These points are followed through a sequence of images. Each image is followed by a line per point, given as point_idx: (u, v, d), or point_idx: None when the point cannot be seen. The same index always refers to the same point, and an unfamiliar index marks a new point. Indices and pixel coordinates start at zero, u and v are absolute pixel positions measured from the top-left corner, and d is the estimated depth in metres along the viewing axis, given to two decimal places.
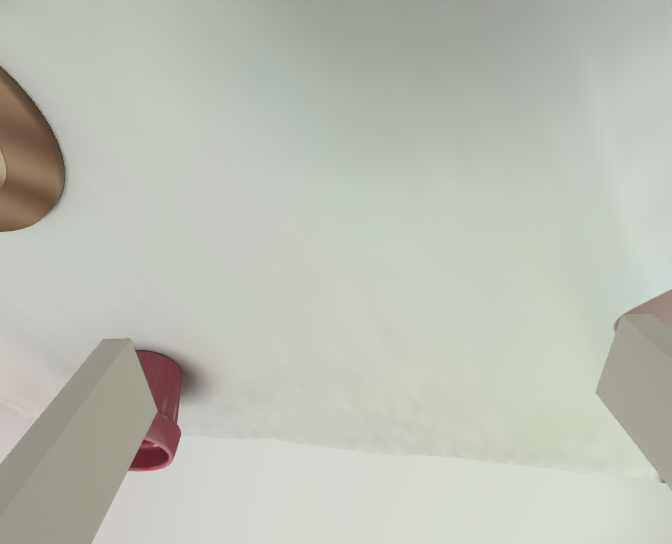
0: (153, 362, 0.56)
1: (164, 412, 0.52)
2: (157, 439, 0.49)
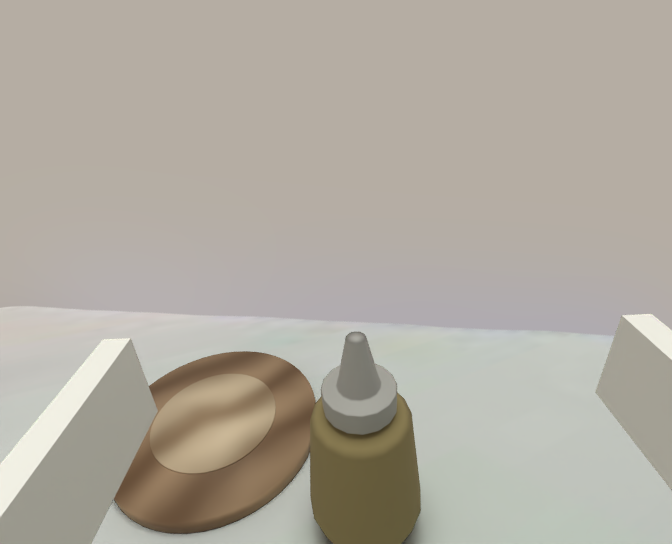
0: None
1: None
2: None
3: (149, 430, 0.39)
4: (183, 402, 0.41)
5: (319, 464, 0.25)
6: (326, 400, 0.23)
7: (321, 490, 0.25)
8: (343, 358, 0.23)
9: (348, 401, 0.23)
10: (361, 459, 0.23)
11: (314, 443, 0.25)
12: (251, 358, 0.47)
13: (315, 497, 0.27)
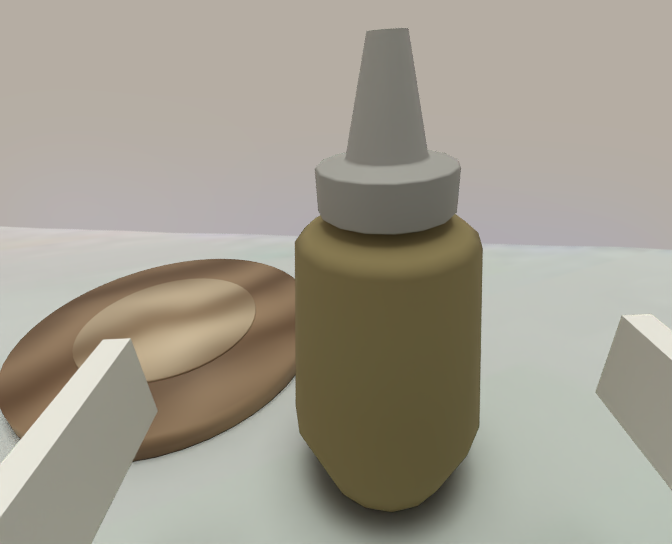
0: None
1: None
2: None
3: (77, 334, 0.27)
4: (130, 305, 0.30)
5: (308, 315, 0.13)
6: (325, 173, 0.12)
7: (311, 369, 0.14)
8: (360, 80, 0.12)
9: (368, 170, 0.12)
10: (391, 280, 0.11)
11: (300, 273, 0.13)
12: (230, 265, 0.36)
13: (302, 391, 0.15)
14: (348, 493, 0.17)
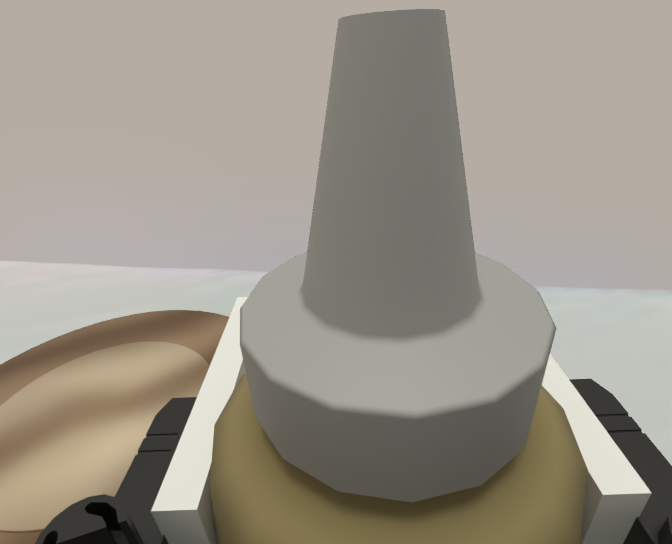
0: None
1: None
2: None
3: None
4: (54, 386, 0.23)
5: None
6: (251, 342, 0.05)
7: None
8: (327, 138, 0.05)
9: (348, 346, 0.05)
10: None
11: (215, 514, 0.07)
12: (191, 320, 0.29)
13: None
14: None
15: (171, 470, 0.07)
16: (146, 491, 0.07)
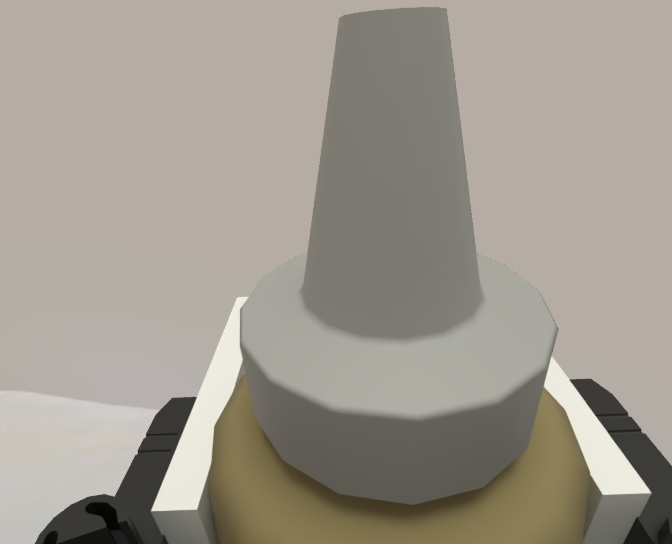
0: None
1: None
2: None
3: None
4: None
5: None
6: (250, 343, 0.05)
7: None
8: (328, 137, 0.05)
9: (348, 347, 0.05)
10: None
11: (215, 516, 0.06)
12: None
13: None
14: None
15: (171, 470, 0.07)
16: (146, 491, 0.07)
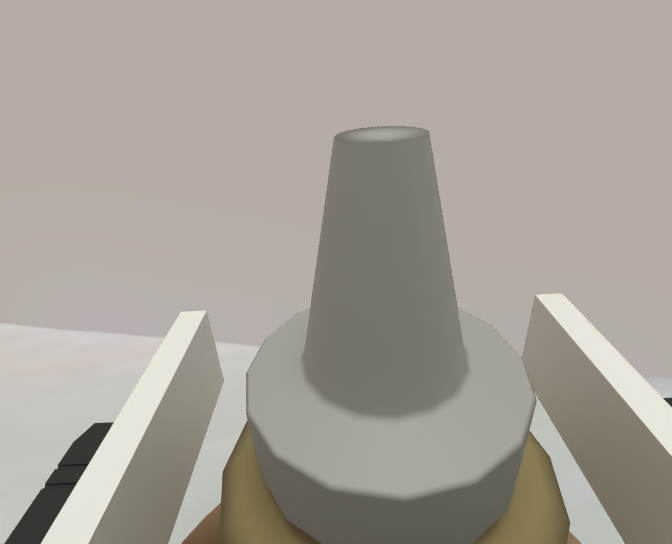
0: None
1: None
2: None
3: None
4: None
5: None
6: (256, 414, 0.06)
7: None
8: (325, 236, 0.05)
9: (344, 423, 0.05)
10: None
11: None
12: None
13: None
14: None
15: (64, 511, 0.06)
16: (43, 531, 0.07)
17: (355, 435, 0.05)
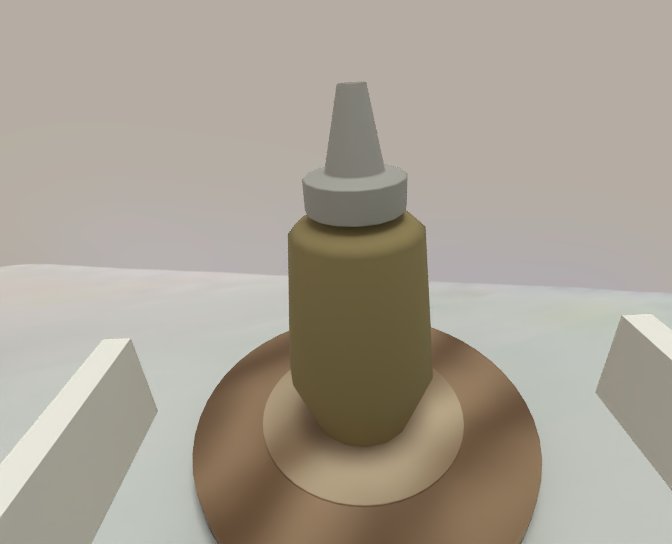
0: None
1: None
2: None
3: (259, 428, 0.24)
4: None
5: (298, 288, 0.18)
6: (309, 183, 0.17)
7: (301, 330, 0.19)
8: (333, 117, 0.16)
9: (339, 181, 0.16)
10: (355, 259, 0.16)
11: (292, 256, 0.18)
12: None
13: (294, 349, 0.20)
14: (331, 432, 0.22)
15: None
16: None
17: (343, 182, 0.16)
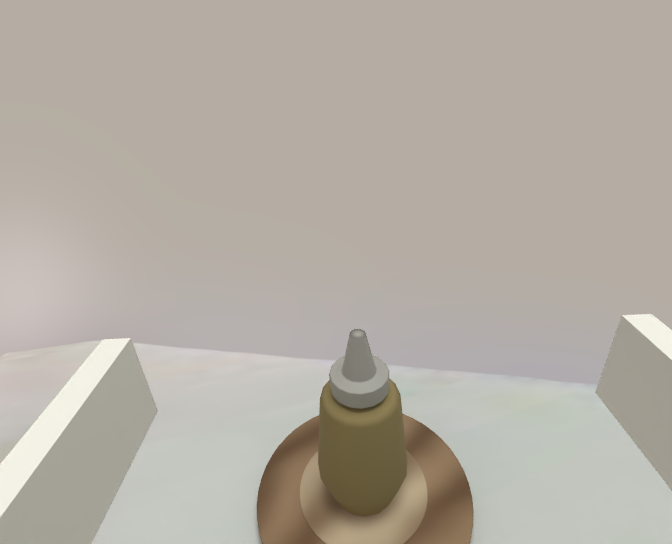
0: None
1: None
2: None
3: (297, 500, 0.37)
4: None
5: (326, 433, 0.32)
6: (333, 381, 0.30)
7: (327, 454, 0.32)
8: (347, 349, 0.30)
9: (350, 383, 0.30)
10: (359, 427, 0.29)
11: (323, 416, 0.31)
12: None
13: (322, 461, 0.33)
14: (344, 507, 0.35)
15: None
16: None
17: (353, 385, 0.30)
